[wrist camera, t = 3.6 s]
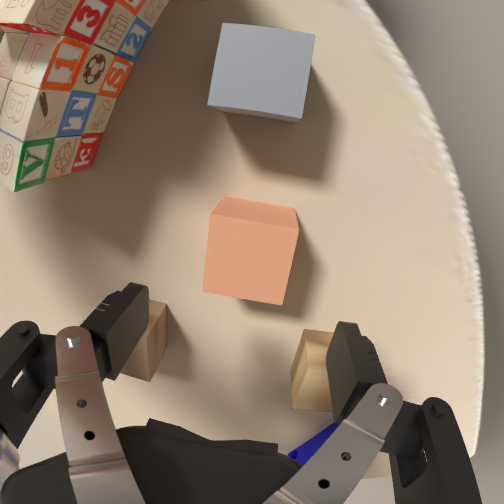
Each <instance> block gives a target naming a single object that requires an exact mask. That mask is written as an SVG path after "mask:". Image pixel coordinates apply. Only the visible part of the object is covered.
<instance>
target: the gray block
mask: <svg viewBox="0 0 504 504" xmlns="http://www.w3.org/2000/svg"><path fill="white" fill-rule="evenodd" d="M314 41H315V35H313V34H308V33H303V32H298V31H292V30H286V29H279V28H272V27H265V26H256V25H246V24H233V23H222V28H221V33H220V38H219V43H218V48H217V53H216V58H215V63H214V69H213V74H212V80H211V86H210V92H209V98H208V104H207V105H209V106H211V107H213V108H216V109H218V110H220V111H222V112H228V113H237V114H244V115H251V116H258V117H265V118H271V119H277V120H282V121H288V122H293V123H296V122H298V121H299V120H301V119H302V114H303V109H304V103H305V97H306V91H307V85H308V79H309V73H310V66H311V60H312V54H313V48H314Z"/></svg>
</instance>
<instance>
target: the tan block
mask: <svg viewBox="0 0 504 504" xmlns="http://www.w3.org/2000/svg"><path fill="white" fill-rule="evenodd" d="M166 347H167V304H164V303H160V302H156V301H151V300H149V323H148V326H147V329H146V331H145V332H144V334H143V336H142V337H141V339H140V340H139V342H138V344H137V345H136V347H135V348H134V350H133V352H132V353H131V355H130V357H129V358H128V360H127V362H126V363H125V365H124V366H123V368H122V370H121V371H120V373H122V374H125V375H128V376H132V377H135V378H138V379H142V380H145V381H149V382H150V381H151V379H152V377H153V375H154V373H155V370H156V368H157V366H158V364H159V362H160V360H161V358H162V356H163V354H164V351H165V349H166Z"/></svg>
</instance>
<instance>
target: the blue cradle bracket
mask: <svg viewBox="0 0 504 504" xmlns="http://www.w3.org/2000/svg"><path fill="white" fill-rule="evenodd" d="M340 424H341V423H333V424H332V425H330V426H329V427H327V428H326V429H325V430H323V431H322V432H320V433H319V434H317V435H316V436H315V437H313V438H312V439H310V440H309V441H307V442H306V443H304V444H303V445H301V446H300V447H298V448H296V449H295V450H293V451H292V452H290V453H288V457H290V458H292V459H294V460H296V461H297V462H299V463H300V464H301V465H303V466H304V465H305V464H306V463H307V462H308V461H309V459H310V458H311V457H312V456H313V455H314V454H315V453H316V452H317V451H318V450H319V449H320V447H321V446H322V445H323V444H324V443H325V442H326V441H327V439H328V438H329V437H330V436H331V435H332V434H333V432H334V431H335V430H336V429H337V428H338V426H339V425H340Z"/></svg>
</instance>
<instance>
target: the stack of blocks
mask: <svg viewBox="0 0 504 504" xmlns="http://www.w3.org/2000/svg"><path fill="white" fill-rule="evenodd" d="M168 2H169V0H0V31H4V32H5V34H4V36H3V39H2V41H1V43H0V183H1V184H2V185H4V186H5V187H7V188H8V189H10V190H11V191H13V192H17V191H20V190H23V189H26V188H28V187H31V186H34V185H37V184H41V183H43V182H44V181H45V180H49V179H53V178H57V177H60V176H64V175H68V174H70V172H76V171H80V170H84V169H88V168H91V166H92V163H93V160H94V157H95V154H96V151H97V148H98V145H99V142H100V138H101V136H102V132H104V131H105V128H106V125H107V123H108V120H109V118H110V115H111V113H112V110H113V108H114V106H115V103H116V100H117V97H118V96H119V94H120V92H121V90H122V88H123V85H124V83H125V81H126V79H127V77H128V75H129V73H130V71H131V69H132V67H133V65H134V61H135V59H136V57H137V56H138V54H139V52H140V50H141V48H142V46H143V44H144V42H145V41H146V39H147V37H148V35H149V34H150V32H151V29H152V27H153V26H154V24H155V23H156V21H157V19H158V18H159V16H160V15H161V13H162V11H163V10H164V8H165V7H166V5H167V4H168Z"/></svg>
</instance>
